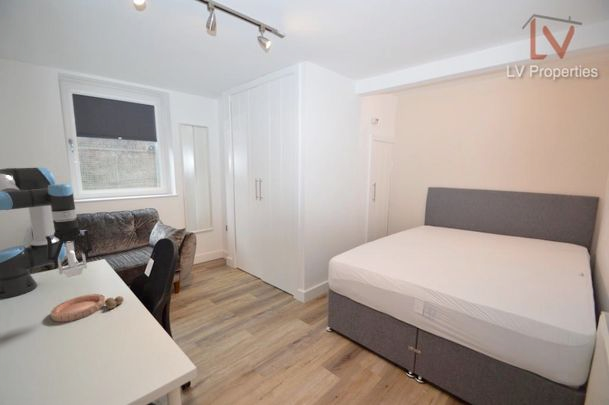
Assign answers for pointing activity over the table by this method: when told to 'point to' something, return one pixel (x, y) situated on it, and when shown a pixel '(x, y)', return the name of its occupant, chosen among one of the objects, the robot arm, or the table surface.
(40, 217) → the robot arm
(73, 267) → the figurine
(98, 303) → the dish
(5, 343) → the table surface
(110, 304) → the wooden beads
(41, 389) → the table surface
